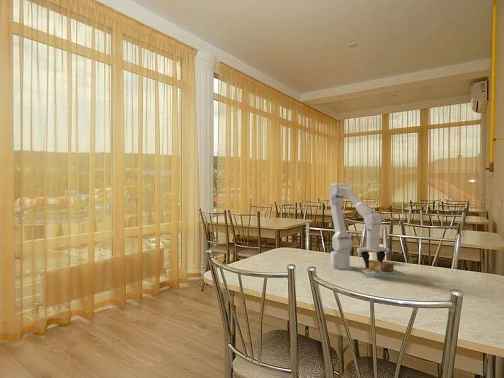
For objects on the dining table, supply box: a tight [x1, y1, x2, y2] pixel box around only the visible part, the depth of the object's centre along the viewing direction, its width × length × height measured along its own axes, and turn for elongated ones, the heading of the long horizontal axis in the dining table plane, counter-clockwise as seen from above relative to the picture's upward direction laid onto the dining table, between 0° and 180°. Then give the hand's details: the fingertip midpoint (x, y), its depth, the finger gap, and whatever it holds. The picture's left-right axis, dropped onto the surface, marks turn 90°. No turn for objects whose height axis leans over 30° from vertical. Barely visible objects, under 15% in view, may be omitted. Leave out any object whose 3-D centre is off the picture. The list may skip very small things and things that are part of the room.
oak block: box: [365, 260, 381, 271], centre depth 152 cm, size 5×5×4 cm
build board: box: [356, 268, 411, 279], centre depth 157 cm, size 20×15×1 cm
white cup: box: [368, 244, 385, 262], centre depth 180 cm, size 8×8×10 cm
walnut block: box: [381, 261, 395, 272], centre depth 161 cm, size 5×5×4 cm
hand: (372, 267), depth 152 cm, fingers closed on oak block, 5 cm apart
